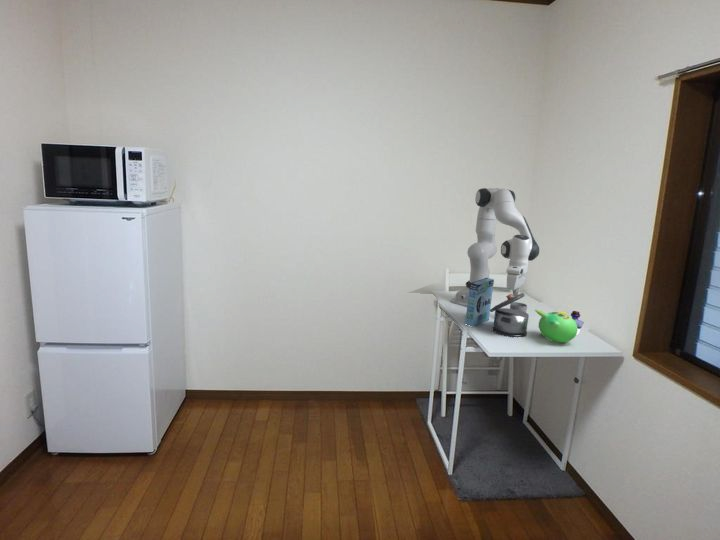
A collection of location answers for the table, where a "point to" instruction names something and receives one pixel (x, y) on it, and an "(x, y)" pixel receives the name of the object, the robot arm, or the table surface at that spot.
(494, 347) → the table surface
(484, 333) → the table surface
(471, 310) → the gum box
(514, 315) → the cooker pot
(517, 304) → the cup
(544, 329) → the toy bird
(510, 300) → the lid
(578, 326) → the potion bottle
